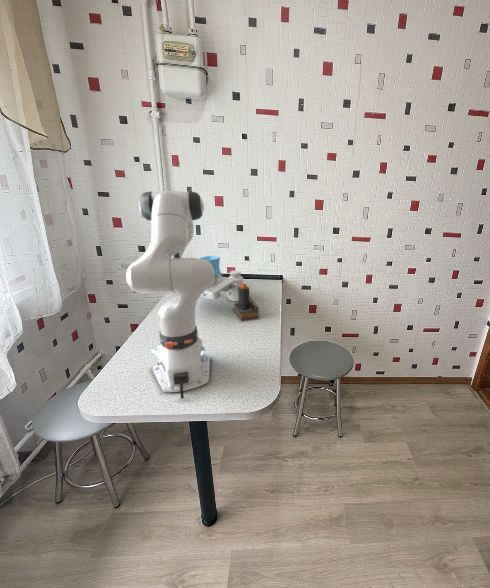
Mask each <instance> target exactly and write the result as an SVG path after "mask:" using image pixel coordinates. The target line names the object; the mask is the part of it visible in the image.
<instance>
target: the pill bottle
mask: <svg viewBox="0 0 490 588" xmlns="http://www.w3.org/2000/svg"><path fill="white" fill-rule="evenodd" d="M241 274H242V273H241V271H240V270H231V271H230V272H229V276H228V278H232V279H234V280H235V282H236V284H237V285H240V287H241V284H243V283H244V277H243V276H242V275H241ZM229 292H231V295H230V296H227V297H228V300H229V301H231V302H239V295H238V289H236V288H232V289H230V290H229Z"/></svg>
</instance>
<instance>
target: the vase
mask: <svg viewBox="0 0 490 588" xmlns="http://www.w3.org/2000/svg"><path fill="white" fill-rule="evenodd" d="M199 259H204V260H207V261H208V262H210V264H211V265H212V267H213V269H214V274H215V276H217V275H219V276H221V277H223V274H222V271H221V269H220V268H221V267H220V262H221V261H220V260H221V257H219V256H216V255H211V254H210V255H206V256H201V257H199Z"/></svg>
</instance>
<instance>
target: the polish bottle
mask: <svg viewBox="0 0 490 588" xmlns="http://www.w3.org/2000/svg"><path fill="white" fill-rule="evenodd" d="M238 295H239V301H238V303H239V309H241V310H247V309H249V308H250V300H249V296H250V287H249V286H247V283H245V282H243V284H241V287H239V288H238Z"/></svg>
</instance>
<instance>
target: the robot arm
mask: <svg viewBox="0 0 490 588" xmlns="http://www.w3.org/2000/svg"><path fill="white" fill-rule="evenodd" d="M138 208H139V211H140V213H141V215H142V217H143V218H144V219H146V221H150V224H151V228H150V229H151V231H150V232H151V233H150V242H149V245H148V247H147V249H146V250H145V252H144V253H143V254H142V255H141V256H140V257H138V259H136V260H135V261H133V262H131V263H130V264H129V265H128V267H127V268H126V272H125V281H126V284H127V286H128V287H129V289H130V290H131V291H133V293H135V294H144V295H159V294H176V296H174V297H173V298H172V299H170V300H168V301H166V302H165V303H163V304H162V305H161V306H160V308H159V309H158V312H157V317H158V324H159V333H158V334H159V335H158V337H159V342H160V343H159V345H158V346H156V350H155V349H151V352H152V353H153V354H155V356H157V364H155V365H154V366H153V367H152V371H153V374H154V376H155V378H156V380H157V382H158V384H159V386H160V388H161V389H162V392H164V393H179V392H180V393H179V394H180V399H181V400H182V399H184V397H185V396H184V392H186V391H190V390H193V389H196V388H199V387H202V386H204V385H206V384H207V383H209V381H210V367H211V358H210V356H209V355H207V354H205V353H204V351H205V346H203V339H201V338H200V337H199V335H198V334H199V331H198V327H197V325H196V305H197V302H198V300H199V298H200V297H201V296H202V297H203V298H204V299H209V300H214V301H215V300H218V298H220V297H228V296H230V295H231V292H229V290H230V289H232V288H236V289H238V288H239V287H240V285H237V284H236V282H235V280H234V279H232V278H229V277H226V276H222V277H221V276H219V275H217V276H215V274H214V269H213V267H212V265H211V264H210V262H208V261H207V260H204V259H200V258H197V257H183V254H184V252H185V251H186V248H187V247H188V246H189V244H190V242H191V241H192V239H193V237H194V232H195V225H194V221H196V220H199V219H201V218H202V217H203V214H204V211H205V203H204V201H203V199H202V197H201V195H200V194H199V193H198V192H195V191H191V190H188V191H181V190H158V191H151V190H150V191H146V192H145V191H144V192H143V193H141V195H140V196H139V201H138Z"/></svg>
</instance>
